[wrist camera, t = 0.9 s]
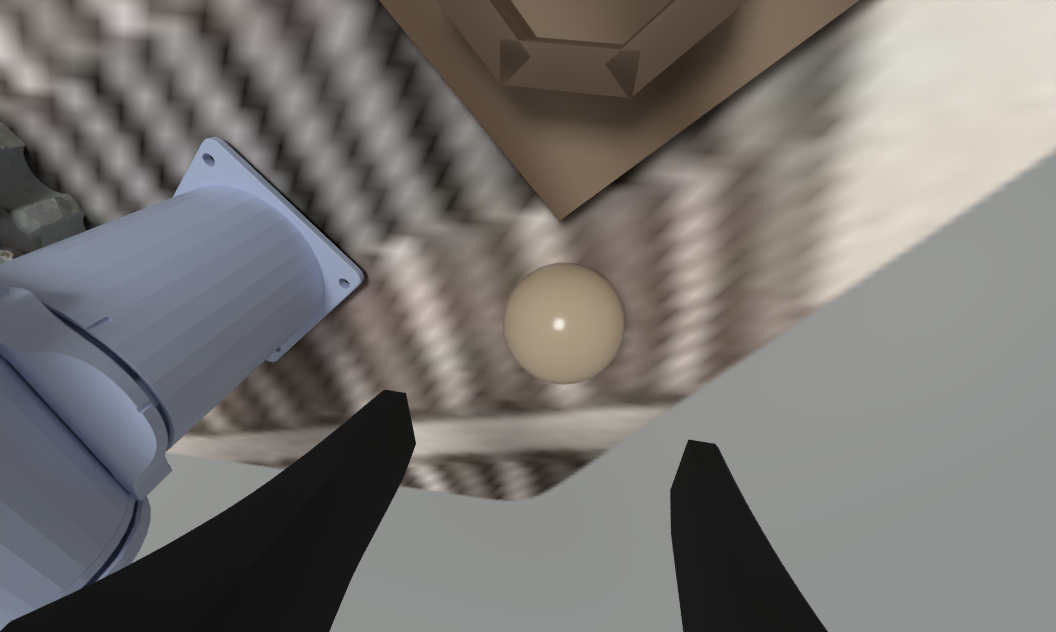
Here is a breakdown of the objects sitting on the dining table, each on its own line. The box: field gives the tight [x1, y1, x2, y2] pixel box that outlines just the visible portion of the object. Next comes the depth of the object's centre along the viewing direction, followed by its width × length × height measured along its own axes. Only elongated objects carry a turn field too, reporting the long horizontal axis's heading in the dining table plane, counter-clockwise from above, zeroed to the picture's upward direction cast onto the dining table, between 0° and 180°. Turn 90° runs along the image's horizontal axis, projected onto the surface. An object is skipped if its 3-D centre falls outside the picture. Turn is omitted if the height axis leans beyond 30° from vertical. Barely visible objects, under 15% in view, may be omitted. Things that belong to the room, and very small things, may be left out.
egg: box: [503, 263, 625, 384], centre depth 16 cm, size 5×5×5 cm
